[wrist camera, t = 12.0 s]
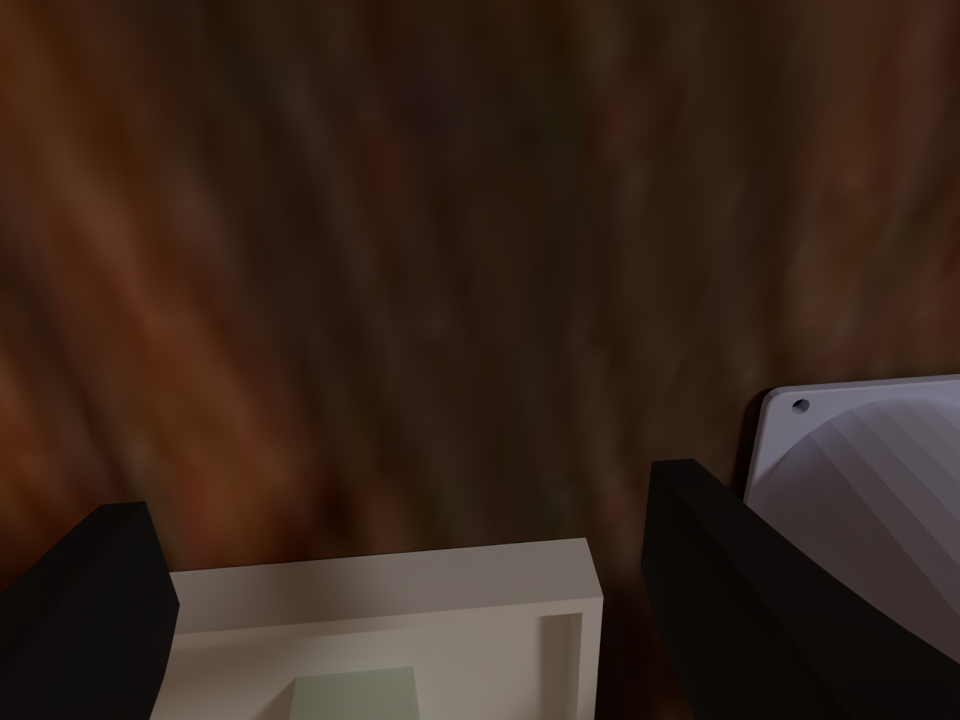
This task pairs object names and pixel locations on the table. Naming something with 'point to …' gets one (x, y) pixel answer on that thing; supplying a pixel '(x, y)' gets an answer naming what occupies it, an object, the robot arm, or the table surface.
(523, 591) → the serving tray
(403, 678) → the sage block
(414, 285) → the table surface
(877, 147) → the table surface
